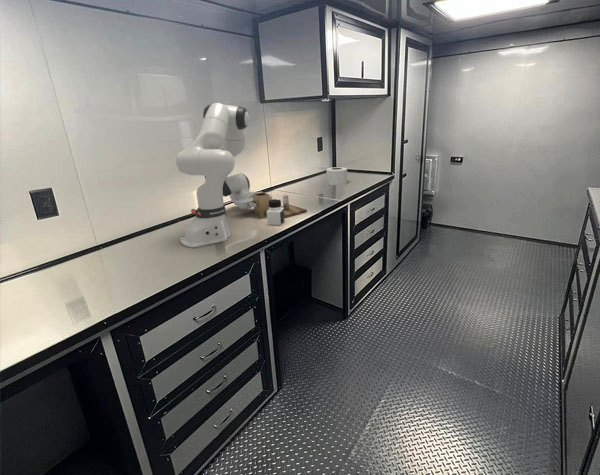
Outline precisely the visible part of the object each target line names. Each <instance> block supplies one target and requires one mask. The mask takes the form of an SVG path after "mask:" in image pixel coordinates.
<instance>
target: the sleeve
mask: <svg viewBox="0 0 600 475" xmlns="http://www.w3.org/2000/svg"><path fill="white" fill-rule="evenodd" d="M261 192H262V193H257V194H253V203H257V204H258V206H257V207H253V215H254V217H256V218H258V219H262V220H263V219H265V218H266V219H267V211H268V210H269V200H270V195H271V194H270V193H266V192H263V191H261Z"/></svg>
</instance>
